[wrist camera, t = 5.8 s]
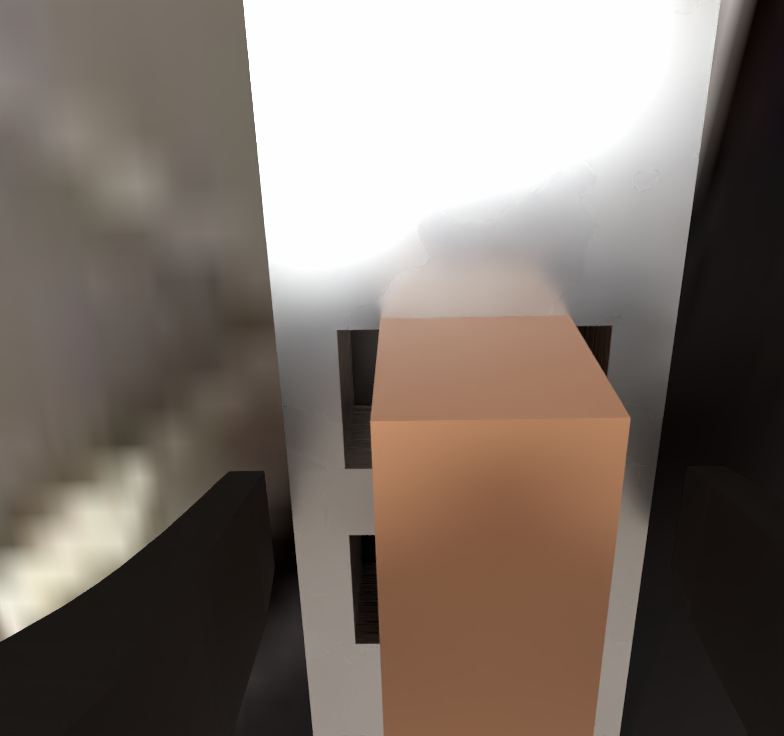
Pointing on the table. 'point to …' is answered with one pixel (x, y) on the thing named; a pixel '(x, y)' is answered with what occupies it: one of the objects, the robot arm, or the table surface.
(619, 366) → the rail
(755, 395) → the table surface
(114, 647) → the robot arm
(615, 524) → the orange block
